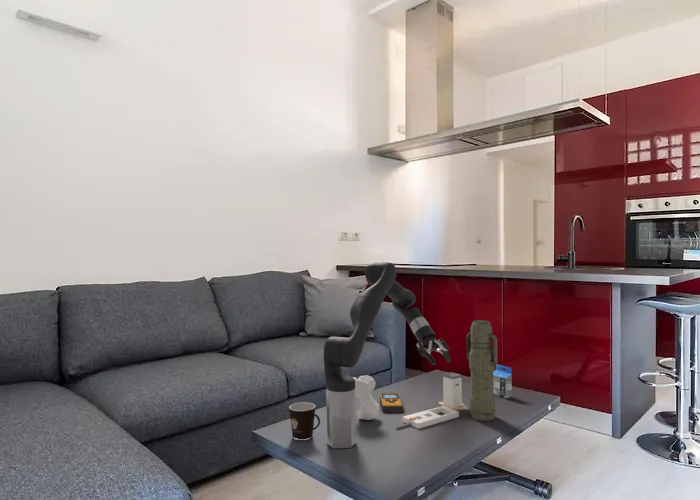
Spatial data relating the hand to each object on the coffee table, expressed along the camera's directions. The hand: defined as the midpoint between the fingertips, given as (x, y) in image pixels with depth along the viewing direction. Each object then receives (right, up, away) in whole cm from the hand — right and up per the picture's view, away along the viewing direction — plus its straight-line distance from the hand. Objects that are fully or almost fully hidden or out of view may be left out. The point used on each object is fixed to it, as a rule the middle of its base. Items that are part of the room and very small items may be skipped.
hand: (441, 362), depth 180 cm
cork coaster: (+3, -16, -5) cm, 17 cm away
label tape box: (+26, -16, +8) cm, 32 cm away
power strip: (-10, -16, -21) cm, 28 cm away
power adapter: (+3, -15, -5) cm, 17 cm away
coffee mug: (-52, -16, -35) cm, 65 cm away
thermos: (+11, -16, -17) cm, 26 cm away
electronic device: (-21, -17, -3) cm, 27 cm away
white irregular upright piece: (-32, -16, -18) cm, 40 cm away
